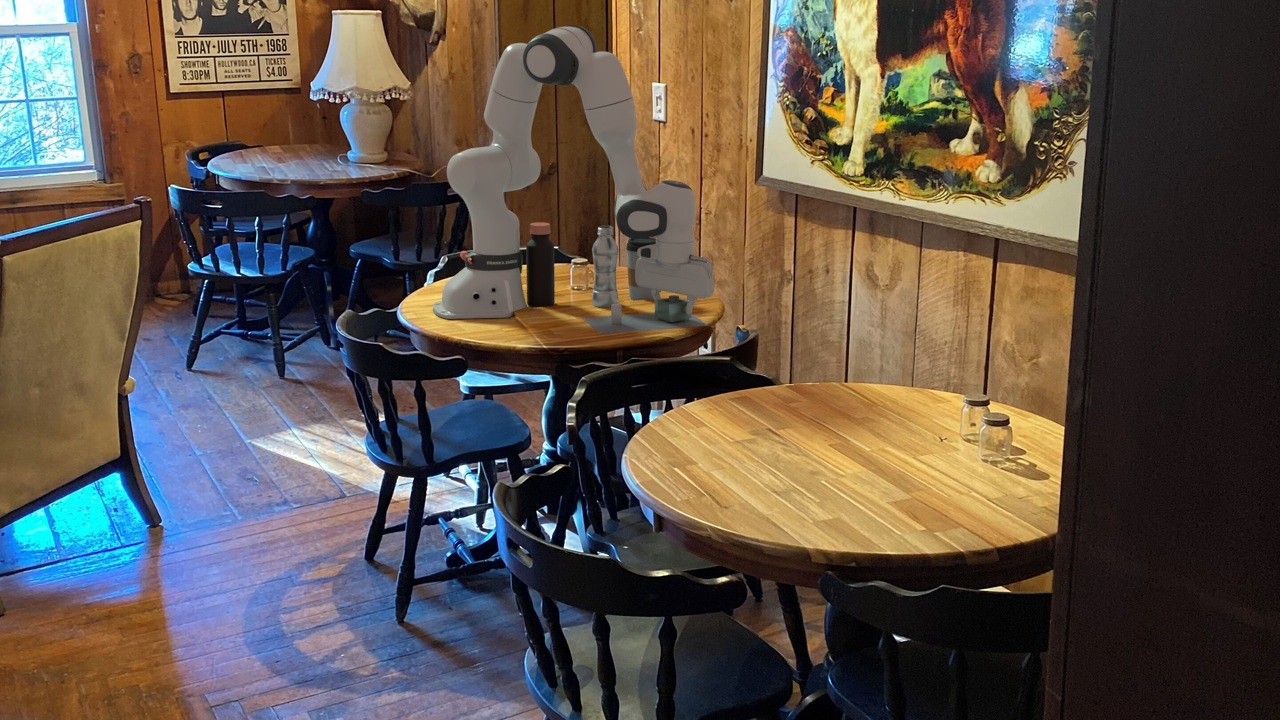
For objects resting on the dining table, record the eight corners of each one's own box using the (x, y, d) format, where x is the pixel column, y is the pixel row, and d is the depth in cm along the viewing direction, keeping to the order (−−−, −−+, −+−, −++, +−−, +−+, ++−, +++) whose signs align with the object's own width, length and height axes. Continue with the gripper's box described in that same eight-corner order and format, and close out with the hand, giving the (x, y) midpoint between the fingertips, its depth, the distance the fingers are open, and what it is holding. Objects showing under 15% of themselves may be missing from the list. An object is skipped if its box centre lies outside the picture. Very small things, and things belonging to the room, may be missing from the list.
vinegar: (548, 309, 286) (547, 227, 280) (522, 306, 288) (521, 225, 282) (558, 302, 292) (558, 222, 286) (533, 300, 294) (532, 220, 288)
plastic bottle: (619, 305, 290) (620, 225, 284) (616, 312, 283) (617, 230, 278) (593, 304, 290) (594, 224, 285) (589, 311, 284) (590, 229, 278)
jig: (600, 338, 262) (600, 309, 260) (582, 322, 274) (582, 295, 272) (708, 329, 270) (709, 301, 268) (686, 314, 282) (687, 288, 281)
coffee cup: (645, 304, 292) (646, 244, 287) (618, 299, 296) (619, 240, 292) (665, 298, 298) (666, 239, 294) (638, 293, 303) (639, 235, 298)
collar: (671, 322, 270) (672, 305, 269) (654, 317, 274) (654, 300, 273) (691, 318, 273) (691, 301, 272) (674, 313, 278) (674, 296, 277)
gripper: (720, 256, 266) (718, 315, 270) (648, 244, 278) (646, 301, 282) (704, 260, 261) (702, 321, 265) (631, 248, 273) (630, 306, 277)
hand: (673, 310), depth 273 cm, fingers closed on collar, 7 cm apart
